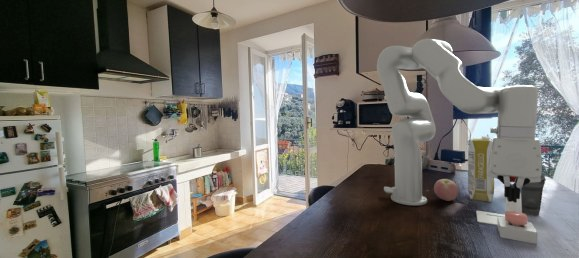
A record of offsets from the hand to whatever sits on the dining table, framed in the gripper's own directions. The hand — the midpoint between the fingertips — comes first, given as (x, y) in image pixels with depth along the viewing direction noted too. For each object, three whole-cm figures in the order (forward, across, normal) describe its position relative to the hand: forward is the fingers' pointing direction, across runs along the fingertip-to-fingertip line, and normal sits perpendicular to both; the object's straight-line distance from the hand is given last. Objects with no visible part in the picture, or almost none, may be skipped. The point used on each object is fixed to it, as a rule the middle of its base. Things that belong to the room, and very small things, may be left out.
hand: (511, 200), depth 68 cm
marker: (+9, +2, +9) cm, 13 cm away
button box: (+9, +1, -1) cm, 9 cm away
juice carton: (+10, -5, +31) cm, 33 cm away
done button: (+8, +1, -1) cm, 9 cm away
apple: (+10, -16, +22) cm, 29 cm away
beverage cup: (+10, +7, +20) cm, 24 cm away
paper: (+9, -1, +9) cm, 13 cm away
